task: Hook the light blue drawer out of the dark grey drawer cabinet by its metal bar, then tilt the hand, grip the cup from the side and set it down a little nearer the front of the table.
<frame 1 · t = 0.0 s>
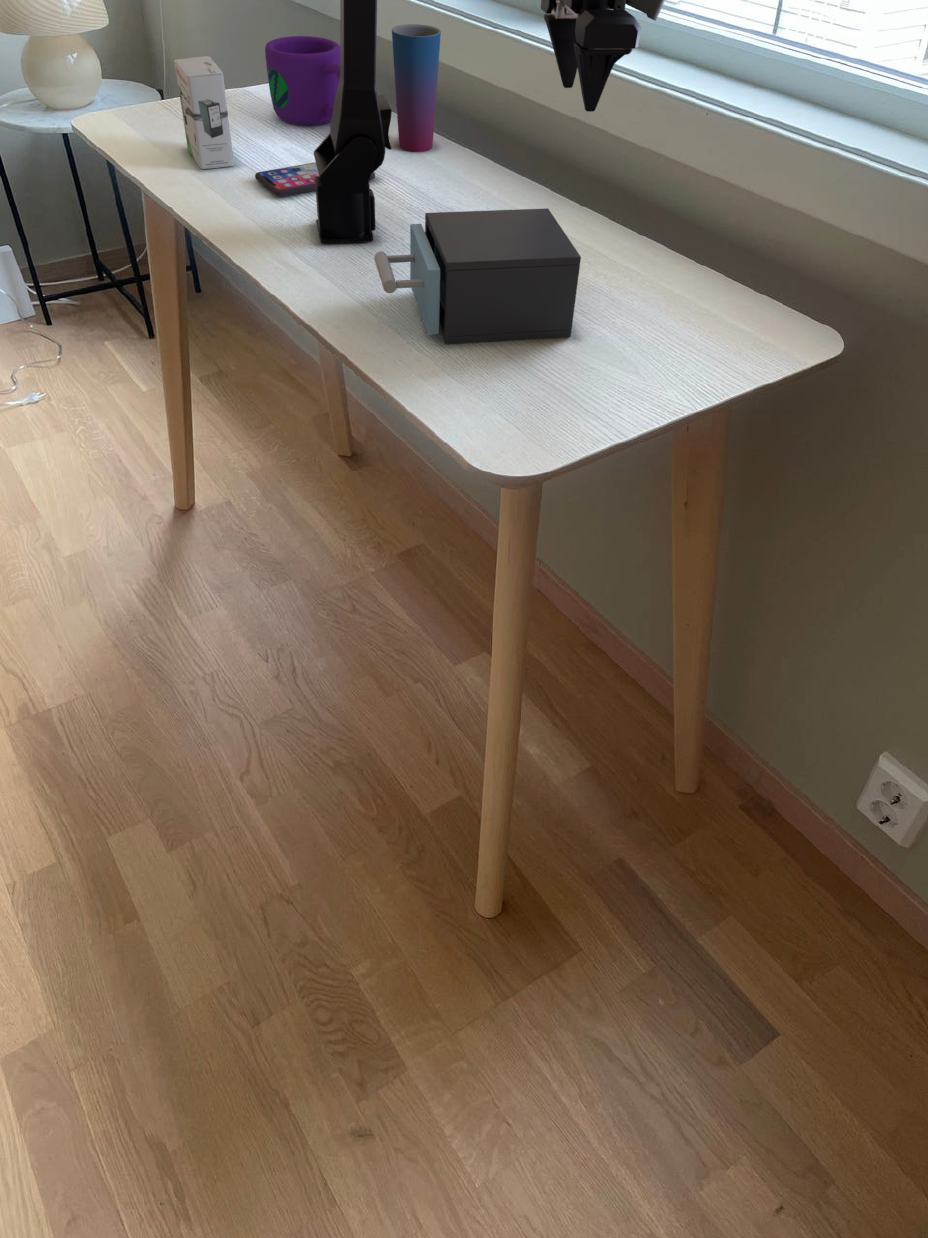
hand: (578, 98, 109), 15 cm above the table, tool pointing down, fingers open, 9 cm apart
cup: (415, 147, 138), on the table
light blue drawer: (457, 276, 97), point 4 cm above the table, slide at 0.5 cm
smartphone: (316, 181, 127), on the table
ink box: (211, 159, 131), on the table
dark grey drawer cabinet: (495, 312, 101), on the table
mug: (319, 123, 145), on the table
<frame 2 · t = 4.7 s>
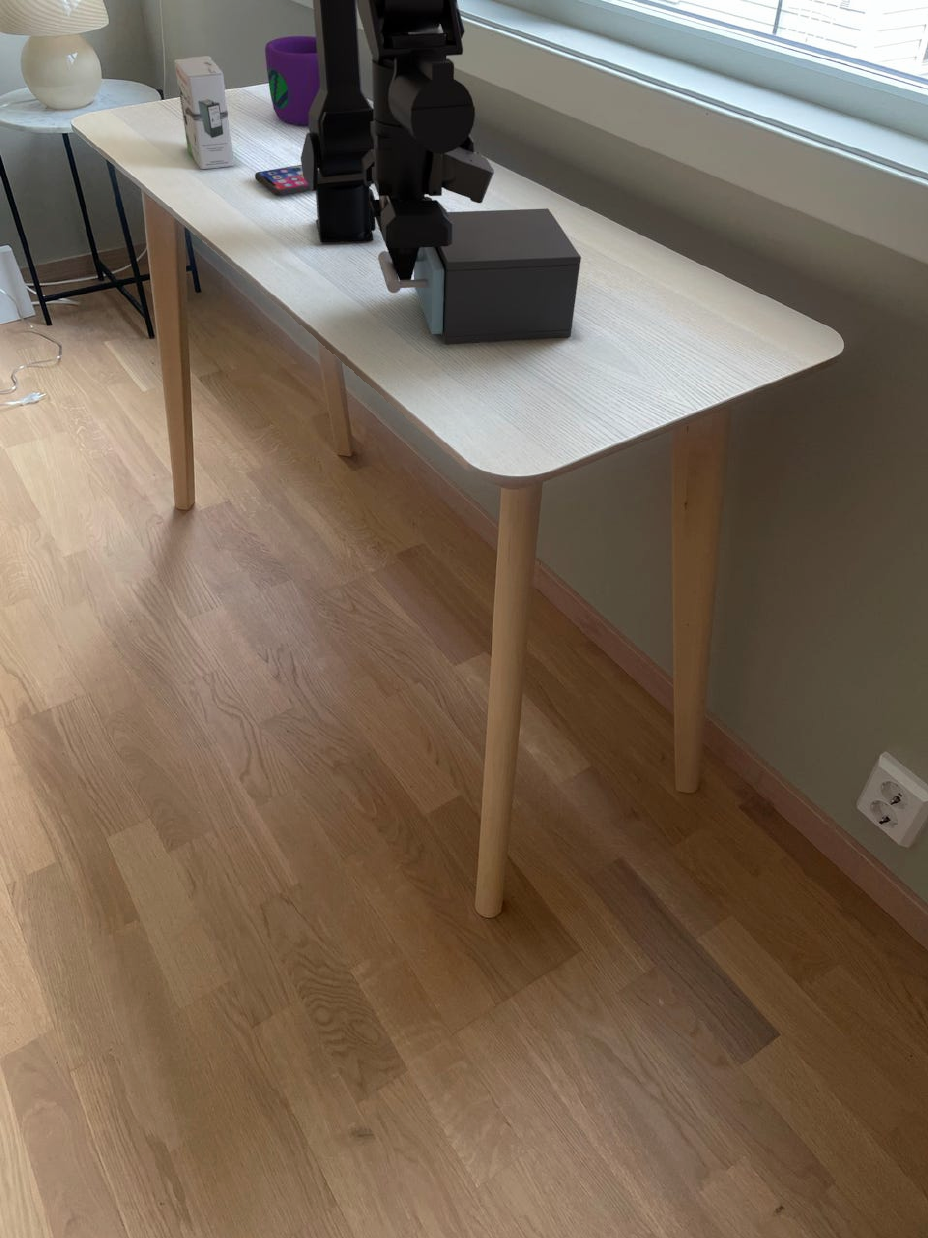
hand: (404, 280, 96), 4 cm above the table, tool pointing down, fingers closed, pressing on light blue drawer
light blue drawer: (461, 276, 97), point 4 cm above the table, slide at 0.1 cm, touching gripper
everything else where it was.
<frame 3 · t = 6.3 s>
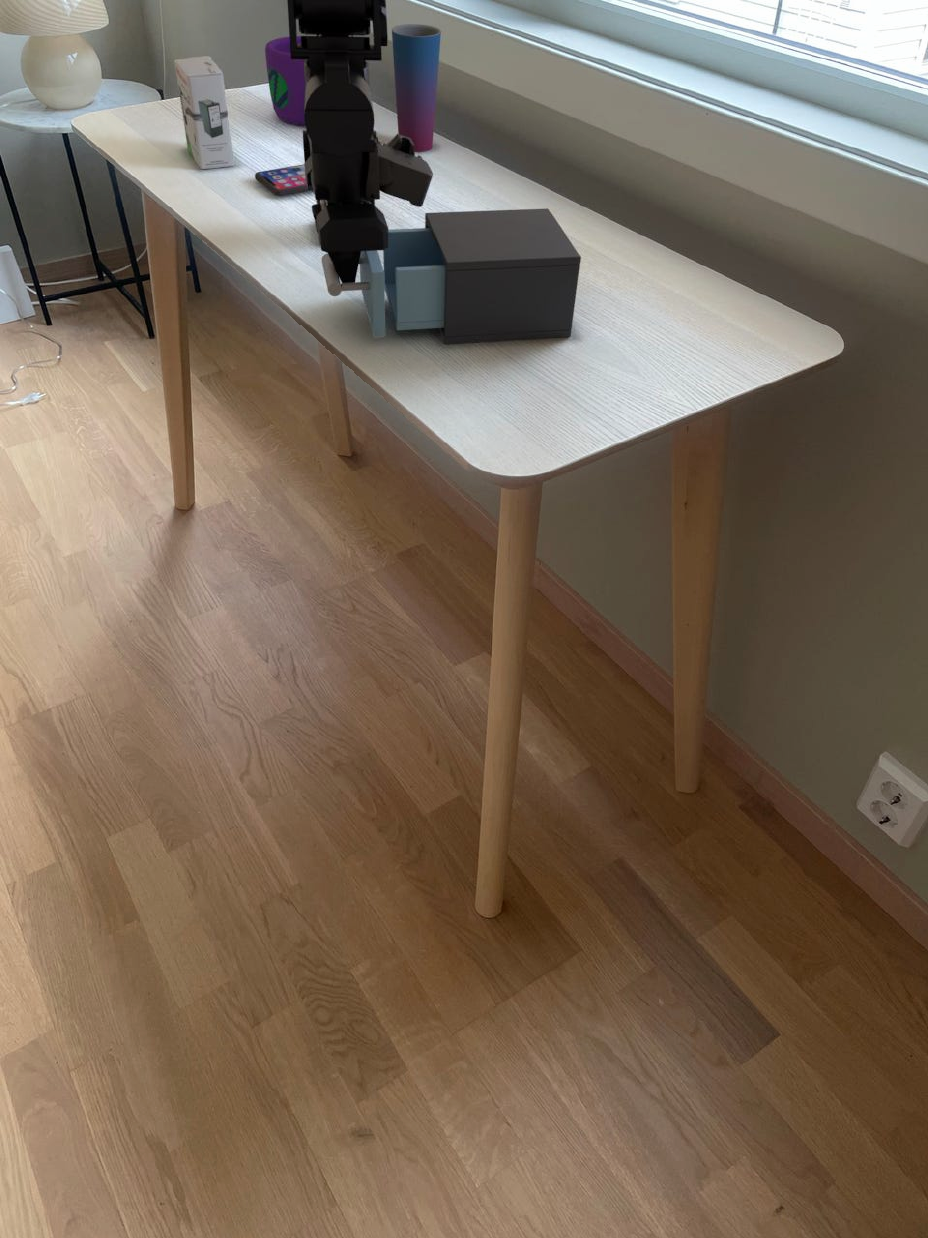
hand: (348, 285, 95), 4 cm above the table, tool pointing down, fingers closed, pressing on light blue drawer
light blue drawer: (405, 278, 96), point 4 cm above the table, slide at 6.0 cm, touching gripper
everything else where it was.
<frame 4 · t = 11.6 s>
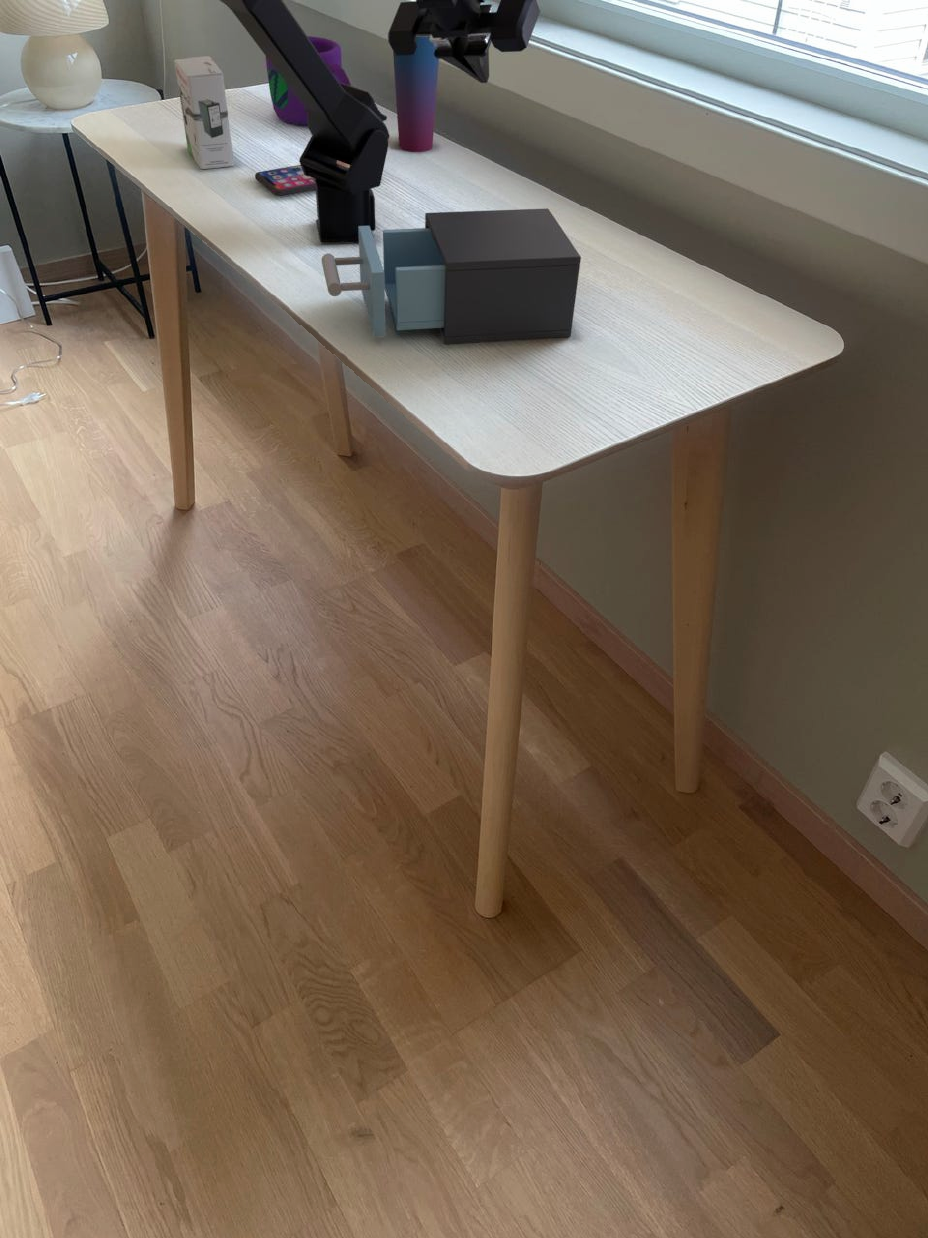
hand: (485, 79, 119), 13 cm above the table, tool tilted 35°, fingers closed
light blue drawer: (405, 278, 96), point 4 cm above the table, slide at 6.0 cm
everything else where it was.
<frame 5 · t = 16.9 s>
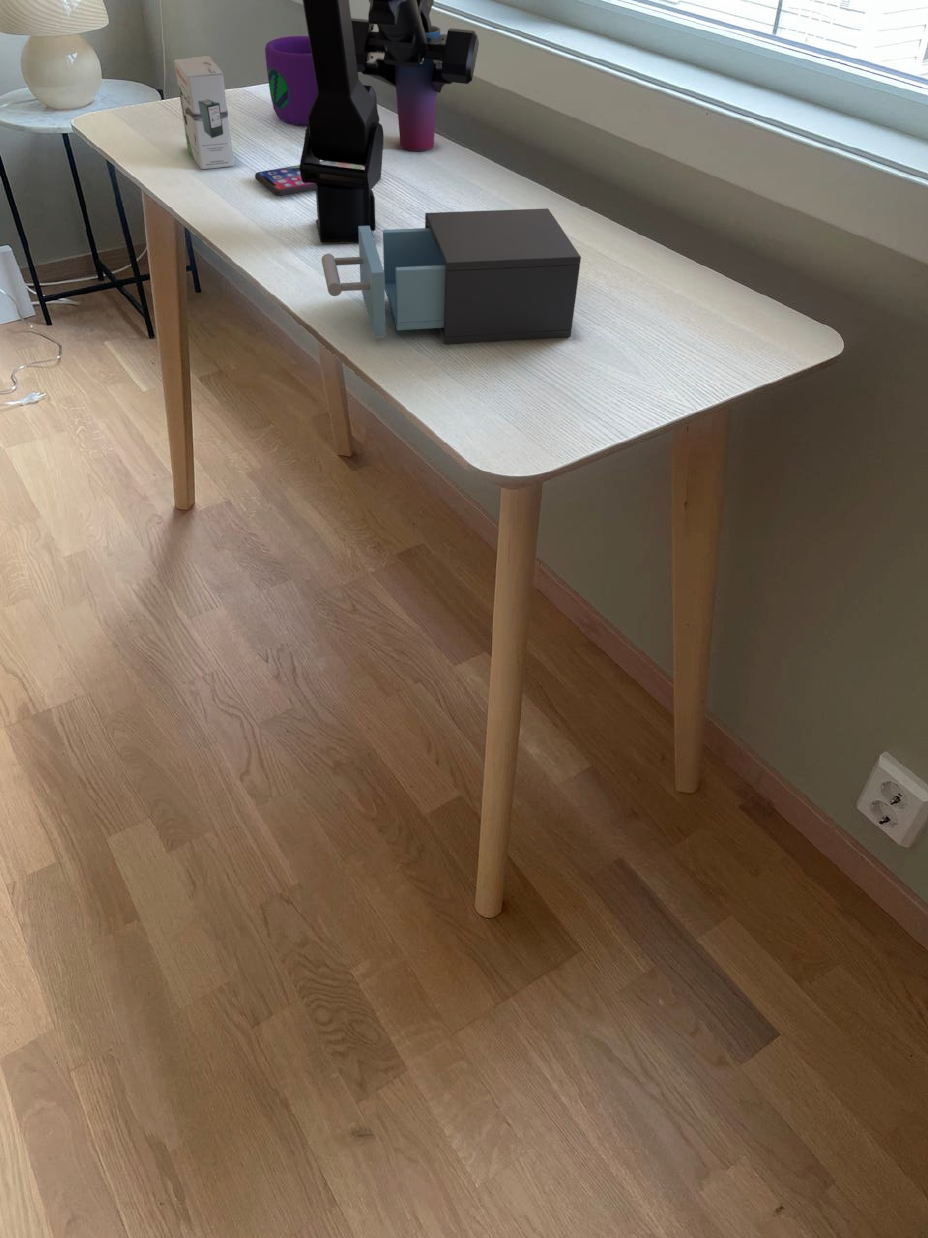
hand: (418, 86, 134), 8 cm above the table, tool tilted 45°, fingers closed on cup, 6 cm apart
cup: (417, 146, 138), on the table, touching gripper
everything else where it was.
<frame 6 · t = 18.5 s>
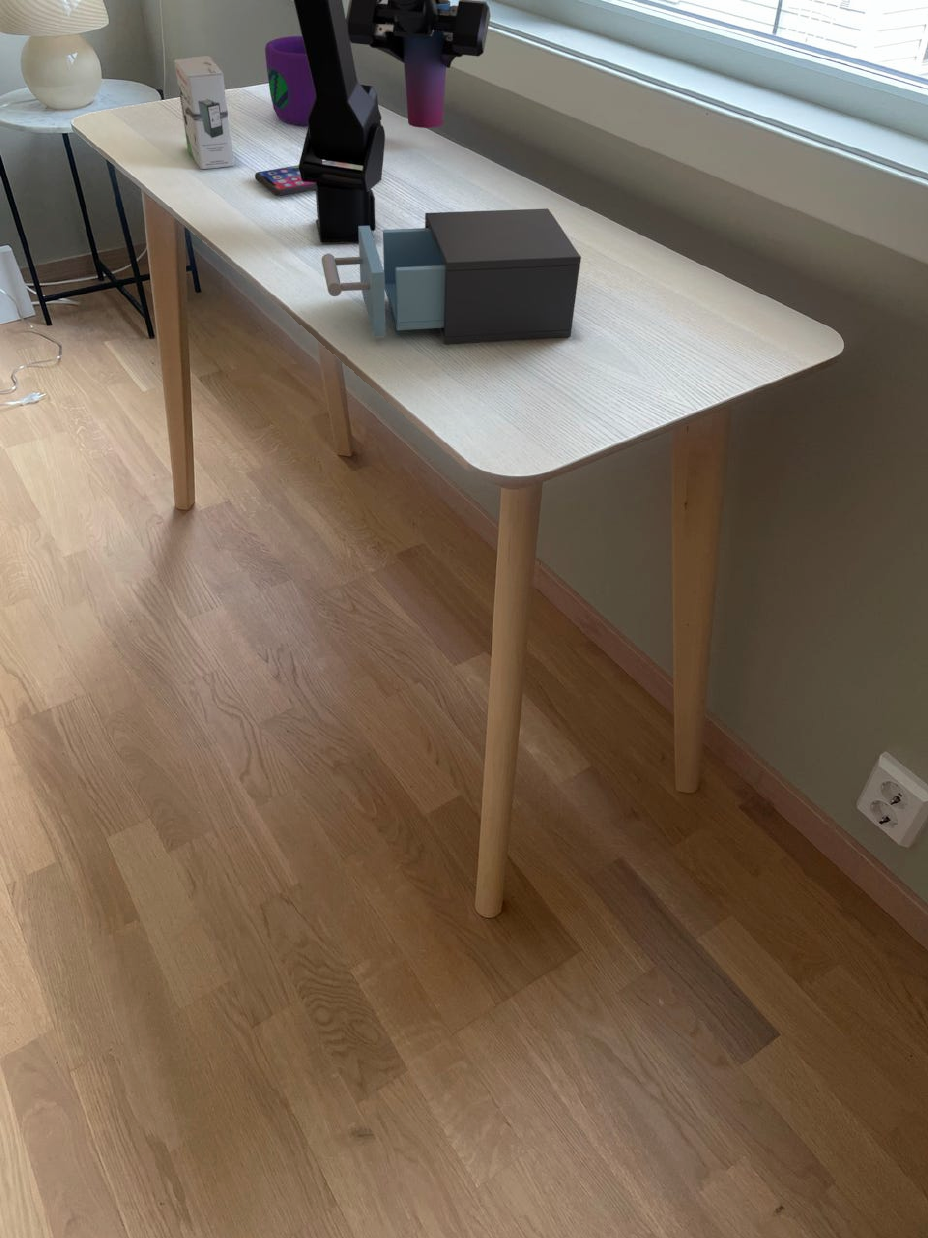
hand: (427, 62, 131), 11 cm above the table, tool tilted 45°, fingers closed on cup, 6 cm apart
cup: (425, 124, 135), point 3 cm above the table, touching gripper
everything else where it was.
when the fingers open (8 cm above the table, at t = 20.2 s): cup stays where it is, on the table.
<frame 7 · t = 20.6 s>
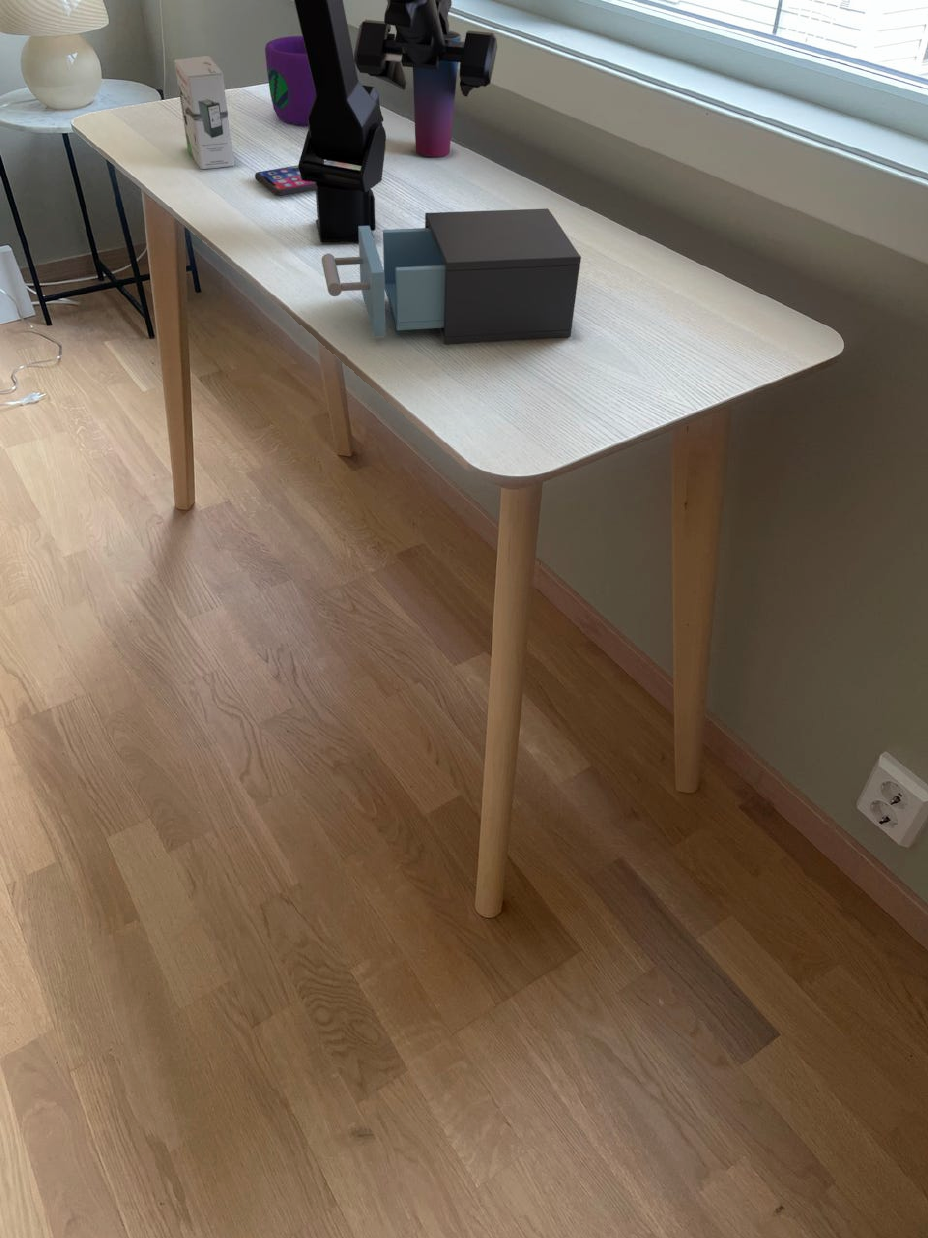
hand: (435, 89, 132), 8 cm above the table, tool tilted 45°, fingers open, 9 cm apart
cup: (432, 152, 137), on the table, touching gripper
everything else where it was.
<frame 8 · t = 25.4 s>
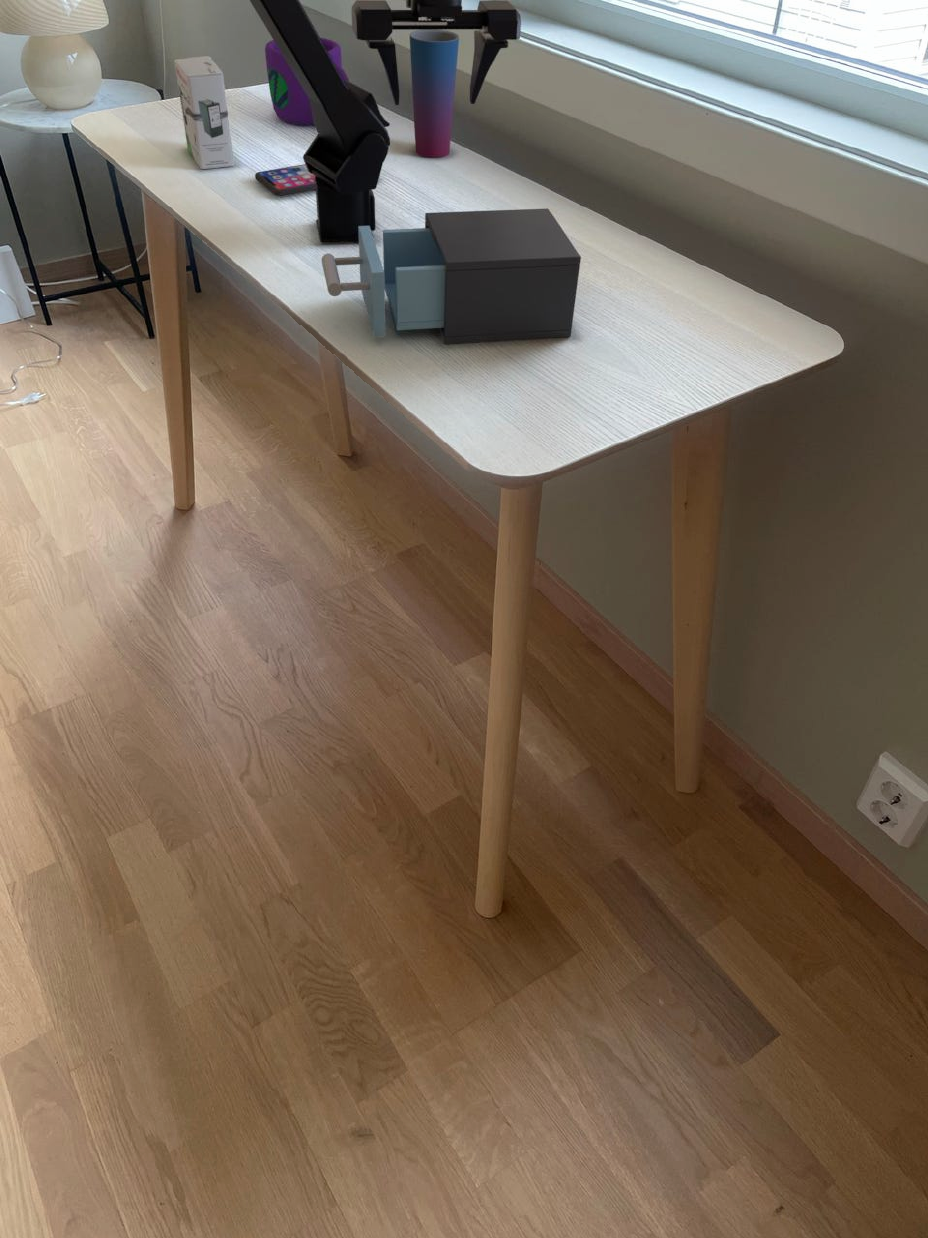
hand: (434, 103, 111), 13 cm above the table, tool pointing down, fingers open, 9 cm apart
cup: (432, 153, 137), on the table
everything else where it was.
at the end: light blue drawer slide at 6.0 cm; cup 0.3 cm from the target spot, on the table; cup tilted 0° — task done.
